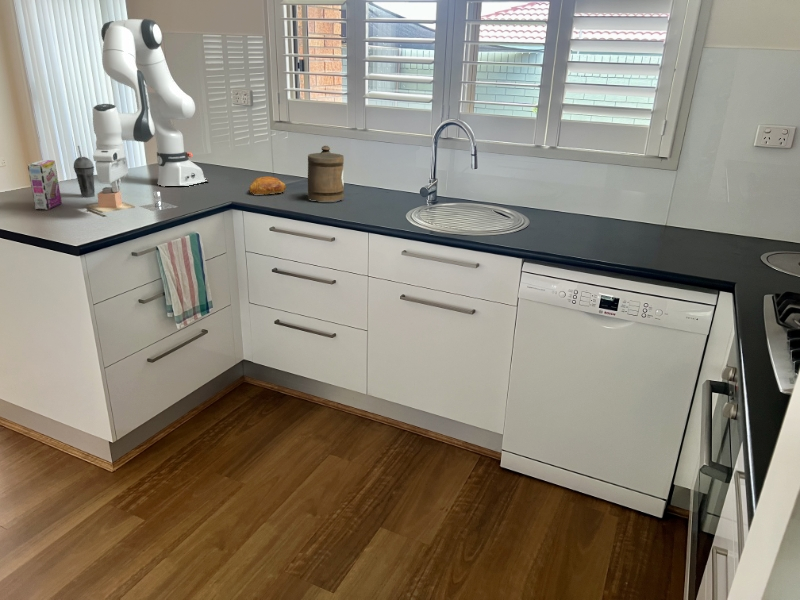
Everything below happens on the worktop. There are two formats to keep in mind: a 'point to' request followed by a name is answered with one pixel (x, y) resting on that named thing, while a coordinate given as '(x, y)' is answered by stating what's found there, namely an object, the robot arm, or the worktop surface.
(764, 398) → the worktop surface
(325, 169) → the wooden container
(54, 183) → the candy bar box
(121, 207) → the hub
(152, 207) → the rod stand
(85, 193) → the beverage cup
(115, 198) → the collar
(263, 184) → the croissant
